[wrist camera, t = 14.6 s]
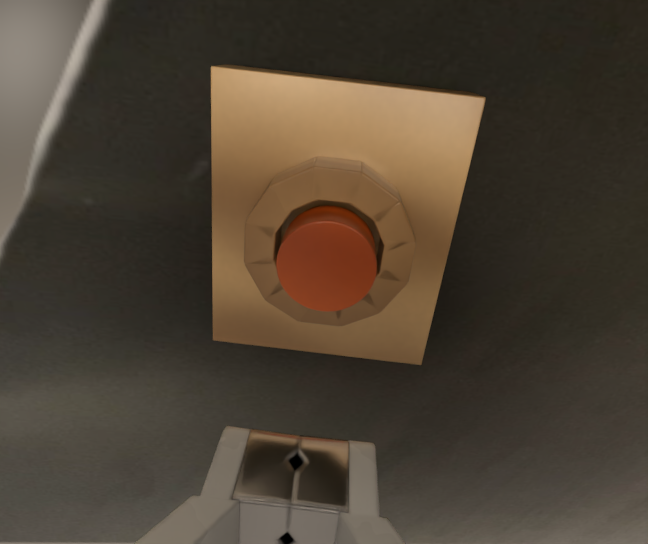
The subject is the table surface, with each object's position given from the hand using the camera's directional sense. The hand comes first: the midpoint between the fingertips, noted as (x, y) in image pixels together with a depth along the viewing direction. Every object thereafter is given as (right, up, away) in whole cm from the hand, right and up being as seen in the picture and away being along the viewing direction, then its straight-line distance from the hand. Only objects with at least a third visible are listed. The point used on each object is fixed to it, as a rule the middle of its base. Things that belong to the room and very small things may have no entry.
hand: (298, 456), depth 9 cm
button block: (+1, +6, +12) cm, 13 cm away
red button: (+1, +5, +8) cm, 10 cm away
